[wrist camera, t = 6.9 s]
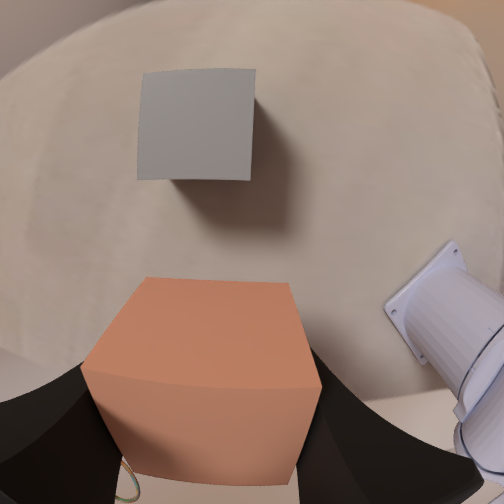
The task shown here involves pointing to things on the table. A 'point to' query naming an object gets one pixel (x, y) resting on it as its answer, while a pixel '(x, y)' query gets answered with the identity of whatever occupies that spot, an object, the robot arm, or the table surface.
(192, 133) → the slate block
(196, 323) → the terracotta block
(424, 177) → the table surface
